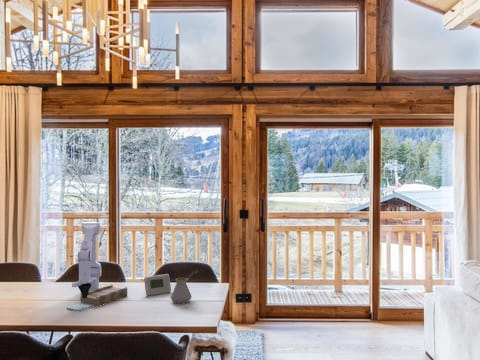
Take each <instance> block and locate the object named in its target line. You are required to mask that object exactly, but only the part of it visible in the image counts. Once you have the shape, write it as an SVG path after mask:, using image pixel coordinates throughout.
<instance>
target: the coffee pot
mask: <svg viewBox="0 0 480 360" xmlns="http://www.w3.org/2000/svg"><path fill="white" fill-rule="evenodd" d="M198 273H199V271H198V270H197V269H195V270H193V271H192V273H190V275H189V276H188V277H178V278H177V277H176V278H175V282H176V284H175V286H174V288H173V291H172V293H171V296H170V299H171V301H172V302H173V303H174V304H176V305H185V304H188V303H189V301H191V299H192V297H193V296H192V293H191V292H190V289H189V286H188V285H187V282H188V281H189V280H190V279H191V278H192V277H193V276H194V274H198Z"/></svg>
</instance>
